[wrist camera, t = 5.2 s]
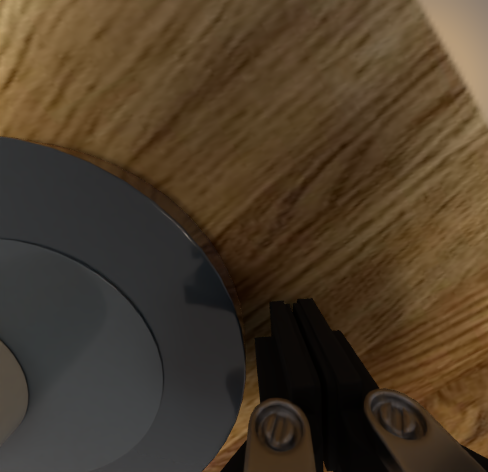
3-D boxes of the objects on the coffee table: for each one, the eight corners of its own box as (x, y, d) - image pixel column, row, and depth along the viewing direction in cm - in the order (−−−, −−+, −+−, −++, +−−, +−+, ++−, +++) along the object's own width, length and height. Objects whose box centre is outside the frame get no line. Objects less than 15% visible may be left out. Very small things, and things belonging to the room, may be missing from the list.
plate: (-242, 160, 8) (-365, 156, 6) (226, 122, 8) (223, 109, 6) (-60, 492, 12) (-108, 543, 10) (257, 465, 12) (260, 511, 10)
